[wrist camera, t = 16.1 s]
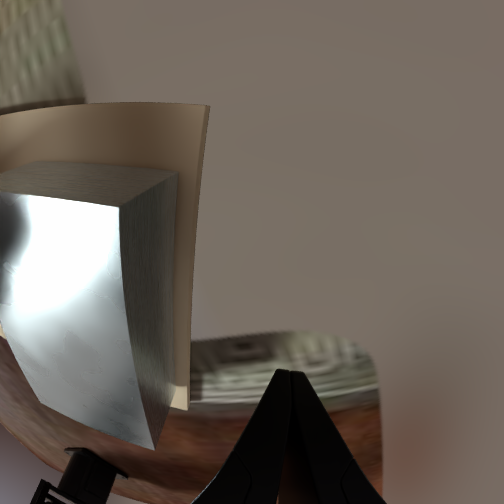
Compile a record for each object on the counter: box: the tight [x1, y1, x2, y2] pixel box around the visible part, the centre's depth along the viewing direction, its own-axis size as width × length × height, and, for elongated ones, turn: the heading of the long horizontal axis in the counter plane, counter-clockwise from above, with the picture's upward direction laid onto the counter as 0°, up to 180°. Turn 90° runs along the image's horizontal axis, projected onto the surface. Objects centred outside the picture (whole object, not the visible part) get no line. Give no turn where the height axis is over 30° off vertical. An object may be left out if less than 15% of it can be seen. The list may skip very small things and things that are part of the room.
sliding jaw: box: [0, 161, 179, 450], centre depth 9 cm, size 6×10×4 cm, turn 171°
